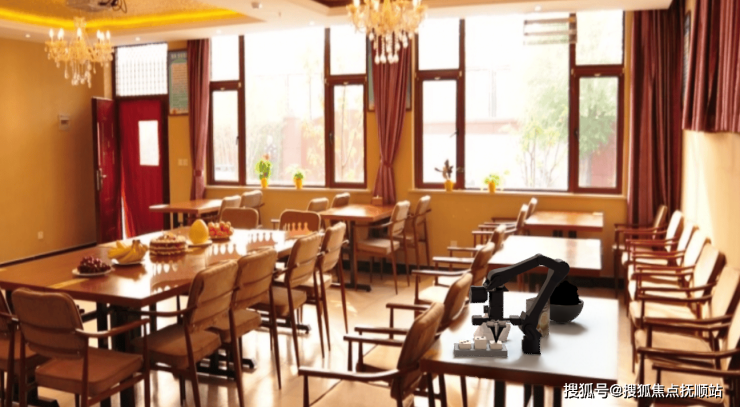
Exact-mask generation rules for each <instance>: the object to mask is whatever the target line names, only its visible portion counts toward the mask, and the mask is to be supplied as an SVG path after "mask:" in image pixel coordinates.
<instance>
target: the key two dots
mask: <svg viewBox="0 0 740 407" xmlns="http://www.w3.org/2000/svg"><path fill="white" fill-rule="evenodd" d="M473 343H474V347H475V349H487V340H486V337H480V336H474V335H473Z"/></svg>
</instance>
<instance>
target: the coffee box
mask: <svg viewBox="0 0 740 407" xmlns="http://www.w3.org/2000/svg"><path fill="white" fill-rule="evenodd" d="M536 297H537V296H534V297H530V298H528V299H525V312H526V311H528V310H529V309H530V307H531V305H532V304H533V302H534V300H535V298H536ZM550 321H551V320H550V298H549V300H548V302H547V303H546V305H545V307H544V309H543V310H542V312H541V314H540V316H539V322H538V326H537V328H536V329H537V330H538V331H539V332H540V333H541V334H542V337H541V339H542V338H543V339H544V338H545V337H549V336H550Z"/></svg>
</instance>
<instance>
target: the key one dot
mask: <svg viewBox="0 0 740 407" xmlns="http://www.w3.org/2000/svg"><path fill="white" fill-rule="evenodd" d="M502 344H503V341H497V342H495V341H490V349H502Z"/></svg>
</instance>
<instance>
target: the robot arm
mask: <svg viewBox="0 0 740 407" xmlns="http://www.w3.org/2000/svg"><path fill="white" fill-rule="evenodd" d="M540 266H543V267H545V268H547V269H548V271H547V275H546V279H545V280H544V281H545V282H544V281H543V284H542V285H543V286H542V285H541V288H540V290H539V291H538V293H537V295H536V296H535V297H536V298H535V300H534V302H533V304H532V305H531V307H530V309H529V310H528V311H526V310H525V311H524V310H522V311H521V312H520V314H519V315H518V314H513V315H512V314H509V317H504V302H505V301H504V299H505V298H504V297H505V296H504V295H505V294H504V293H505V292H507V293H509V291H510V290H509V289H508V288H507V287H506V285H505V284H506V283H508V282H509V281H510V280H512V279H513V278H514V277H516V276H519V275H521V274H524V273H526V272H528V271H531V270H533V269H535V268H537V267H540ZM570 270H571V267H570V264H569V263H568V262H567V261H565V260H563V259H561V258H551V257H550V256H547V255H544V254H542V253H535V255H533V256H530V257H528V258H526V259H523V260H521V261H519V262H516V263H513V264H512V265H509V266H506V267H499V268H495V269H492V270H490V271H489V272H488V274H487V278H486V279H485V281H484V282H483V283H482V284H481V285H470V286H469V291H468V300H469V304H483V305H482V307H483V311H482V312H483V314H485V313H488V317H489V318H482V317H483V315H482V314H473V315H471V318H470V319H471V326H474V327H476V326H477V327H478V326H481V325H482V324H483V323H486V325H487V327H488V328H490V329H491V331H492V333H493V337H494V340H495V342H497V341H498V339H499V336H500V334H501V332H502V330H503V329H504V328H506V323H507V324H510V325H511V326H514V327H517V328H518V330H520V331H521V332H522V334H523V335H522V339H521V340H520V341H521V351H522V353H523V355H542V352H541V339H542V338H541V337H542V334H541V333H540V332H539V331H538V330H537V329H536V328H537V326H538V322H539V316H540V314H541V312H542V310H543V309H544V307H545V305H546V303H547V302H548V300H549V298H550V296H551V294H552V293H553V291H554V289H555V287H556V286H557V287H558V285H559V284H560V283H561V281H562V282H563V281H564V279H565V278H566V277H567V275H568V274H569V272H570ZM487 301H488V304H486V302H487ZM494 323H497V332H496V331H495V325H494Z"/></svg>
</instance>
